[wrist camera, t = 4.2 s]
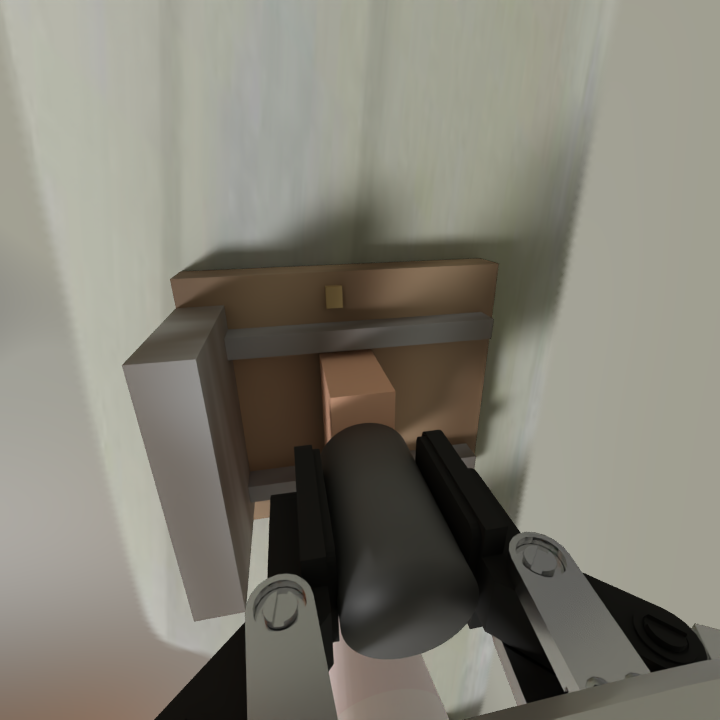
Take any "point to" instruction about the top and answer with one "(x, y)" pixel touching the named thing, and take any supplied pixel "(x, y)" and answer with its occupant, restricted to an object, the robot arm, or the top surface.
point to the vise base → (292, 389)
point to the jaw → (385, 522)
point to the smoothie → (382, 687)
